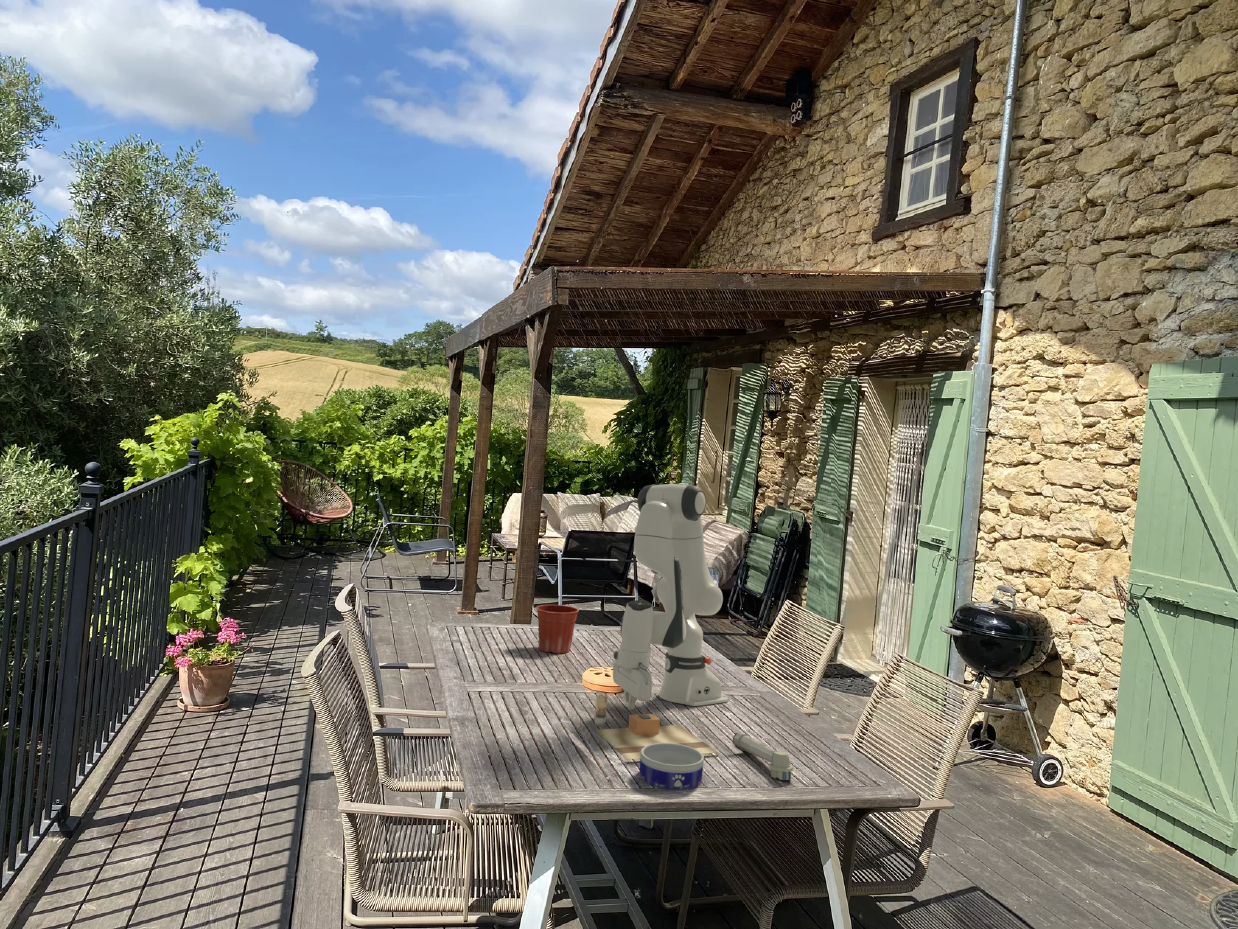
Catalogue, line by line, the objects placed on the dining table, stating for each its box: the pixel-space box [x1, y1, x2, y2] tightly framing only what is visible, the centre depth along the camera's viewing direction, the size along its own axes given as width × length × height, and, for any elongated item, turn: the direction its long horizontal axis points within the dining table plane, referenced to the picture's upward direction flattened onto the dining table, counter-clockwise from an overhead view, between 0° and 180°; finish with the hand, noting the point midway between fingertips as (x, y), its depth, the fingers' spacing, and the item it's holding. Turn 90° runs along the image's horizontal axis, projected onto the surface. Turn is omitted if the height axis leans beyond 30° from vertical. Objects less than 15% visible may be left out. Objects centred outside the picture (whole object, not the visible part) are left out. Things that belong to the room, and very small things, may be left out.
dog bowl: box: [639, 743, 705, 791], centre depth 201 cm, size 15×15×6 cm
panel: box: [595, 724, 719, 765], centre depth 223 cm, size 26×22×1 cm
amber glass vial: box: [594, 694, 608, 728], centre depth 233 cm, size 3×3×9 cm
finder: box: [627, 713, 661, 735], centre depth 230 cm, size 7×5×4 cm
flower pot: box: [535, 604, 580, 654], centre depth 321 cm, size 16×16×16 cm
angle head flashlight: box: [732, 732, 794, 781], centre depth 216 cm, size 5×7×25 cm
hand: (629, 707), depth 237 cm, fingers closed
